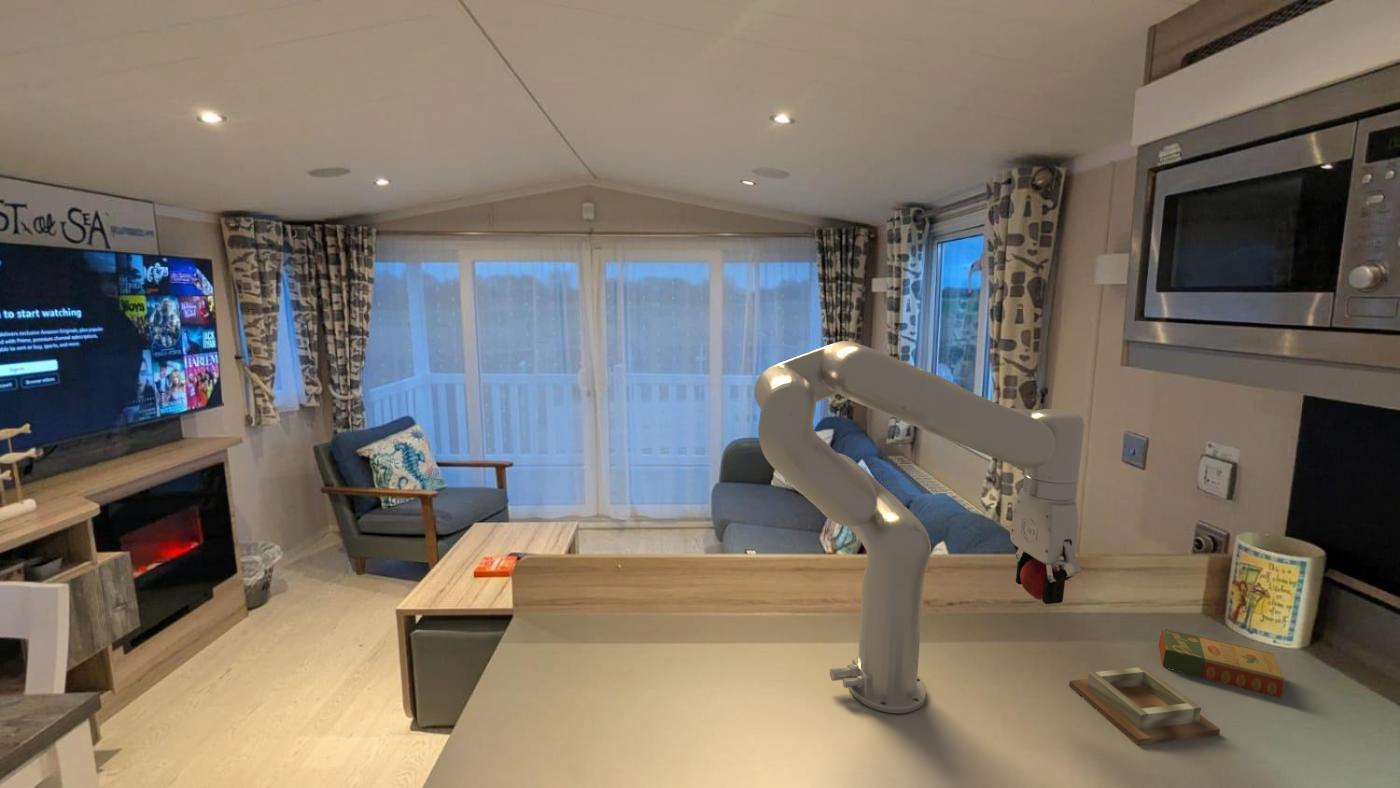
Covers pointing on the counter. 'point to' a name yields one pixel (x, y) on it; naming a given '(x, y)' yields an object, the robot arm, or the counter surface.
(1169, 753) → the counter surface
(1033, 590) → the onion
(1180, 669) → the carton
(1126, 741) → the counter surface
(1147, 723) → the holder
